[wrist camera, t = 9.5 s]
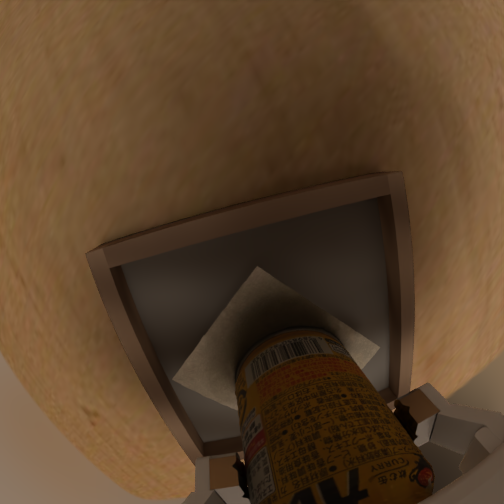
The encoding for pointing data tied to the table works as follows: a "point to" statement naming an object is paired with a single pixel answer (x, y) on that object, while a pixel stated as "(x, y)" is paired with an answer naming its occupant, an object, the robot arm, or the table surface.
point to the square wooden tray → (277, 265)
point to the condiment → (304, 403)
